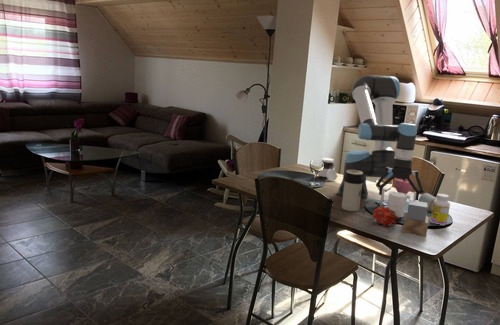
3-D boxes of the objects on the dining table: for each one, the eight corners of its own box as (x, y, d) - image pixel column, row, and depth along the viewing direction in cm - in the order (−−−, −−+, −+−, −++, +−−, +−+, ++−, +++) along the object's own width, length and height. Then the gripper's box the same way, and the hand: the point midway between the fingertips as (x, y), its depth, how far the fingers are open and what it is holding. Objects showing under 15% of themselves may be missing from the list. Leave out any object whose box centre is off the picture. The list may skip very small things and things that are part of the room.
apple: (414, 195, 224) (417, 177, 222) (404, 197, 219) (407, 179, 217) (399, 191, 231) (401, 173, 229) (389, 192, 227) (391, 175, 224)
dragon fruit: (370, 222, 183) (395, 235, 175) (364, 215, 177) (389, 228, 169) (381, 206, 184) (405, 218, 176) (375, 198, 178) (400, 210, 170)
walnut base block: (402, 232, 169) (404, 218, 168) (402, 225, 177) (404, 212, 176) (426, 237, 166) (428, 223, 165) (425, 229, 174) (427, 216, 173)
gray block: (406, 218, 169) (408, 204, 167) (407, 213, 175) (409, 199, 174) (425, 221, 166) (427, 207, 165) (425, 216, 173) (427, 202, 171)
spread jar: (323, 175, 256) (325, 156, 254) (340, 179, 250) (342, 160, 248) (314, 178, 247) (316, 159, 244) (332, 182, 240) (334, 163, 238)
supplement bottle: (427, 219, 186) (432, 192, 184) (442, 221, 186) (447, 193, 184) (433, 225, 180) (438, 196, 177) (449, 226, 180) (454, 198, 177)
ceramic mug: (428, 213, 195) (431, 198, 193) (416, 208, 202) (419, 193, 201) (446, 212, 199) (449, 197, 197) (433, 207, 206) (436, 192, 205)
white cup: (385, 216, 188) (388, 195, 186) (386, 211, 195) (389, 190, 193) (404, 219, 185) (407, 197, 183) (404, 214, 192) (407, 193, 190)
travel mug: (338, 208, 195) (342, 170, 191) (347, 205, 200) (351, 168, 196) (353, 213, 189) (357, 174, 185) (362, 209, 195) (366, 172, 191)
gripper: (373, 156, 185) (368, 202, 189) (434, 163, 177) (427, 211, 181) (375, 153, 192) (369, 198, 196) (433, 160, 184) (426, 206, 188)
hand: (397, 204), depth 188 cm, fingers open, 13 cm apart
